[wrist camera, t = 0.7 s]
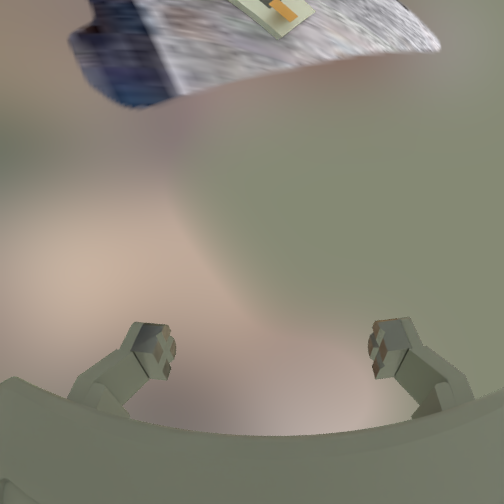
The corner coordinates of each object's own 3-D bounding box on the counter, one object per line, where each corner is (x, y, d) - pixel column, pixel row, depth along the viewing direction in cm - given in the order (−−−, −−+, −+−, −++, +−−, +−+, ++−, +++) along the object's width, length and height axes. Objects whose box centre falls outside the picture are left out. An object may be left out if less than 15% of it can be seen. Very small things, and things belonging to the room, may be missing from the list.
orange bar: (276, 7, 29) (268, 4, 19) (281, 3, 29) (276, -3, 19) (290, 20, 31) (290, 22, 21) (296, 15, 30) (298, 16, 20)
